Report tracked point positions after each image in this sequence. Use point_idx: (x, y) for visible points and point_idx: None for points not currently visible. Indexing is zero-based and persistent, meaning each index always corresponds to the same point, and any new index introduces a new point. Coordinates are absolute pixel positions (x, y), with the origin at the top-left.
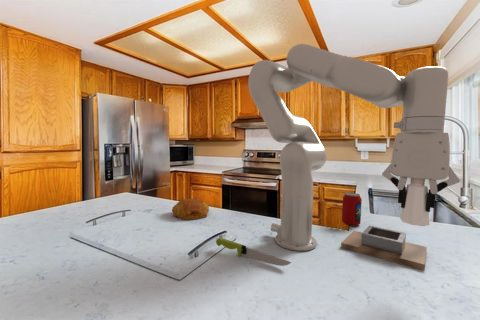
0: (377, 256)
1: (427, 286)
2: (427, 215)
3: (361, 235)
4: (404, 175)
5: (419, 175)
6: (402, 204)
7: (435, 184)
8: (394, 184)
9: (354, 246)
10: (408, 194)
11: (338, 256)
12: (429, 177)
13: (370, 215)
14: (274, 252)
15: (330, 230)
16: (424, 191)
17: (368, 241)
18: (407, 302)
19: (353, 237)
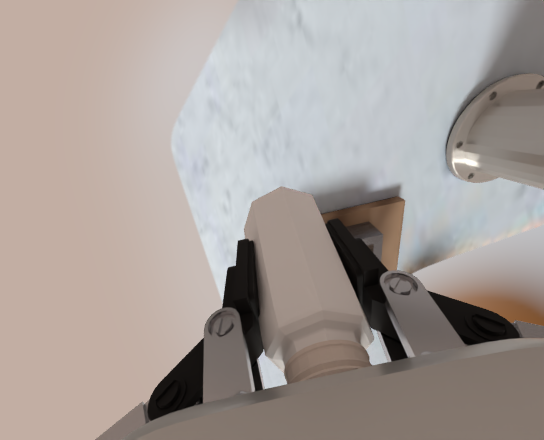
0: (333, 212)
1: (242, 174)
2: (249, 239)
3: None
4: (478, 363)
5: (330, 417)
6: (337, 224)
7: (210, 375)
8: (445, 297)
9: (378, 206)
10: (336, 265)
11: (393, 152)
12: (226, 419)
13: (383, 359)
14: (535, 27)
15: (433, 253)
16: (269, 307)
17: (362, 229)
18: (244, 77)
19: (389, 243)
